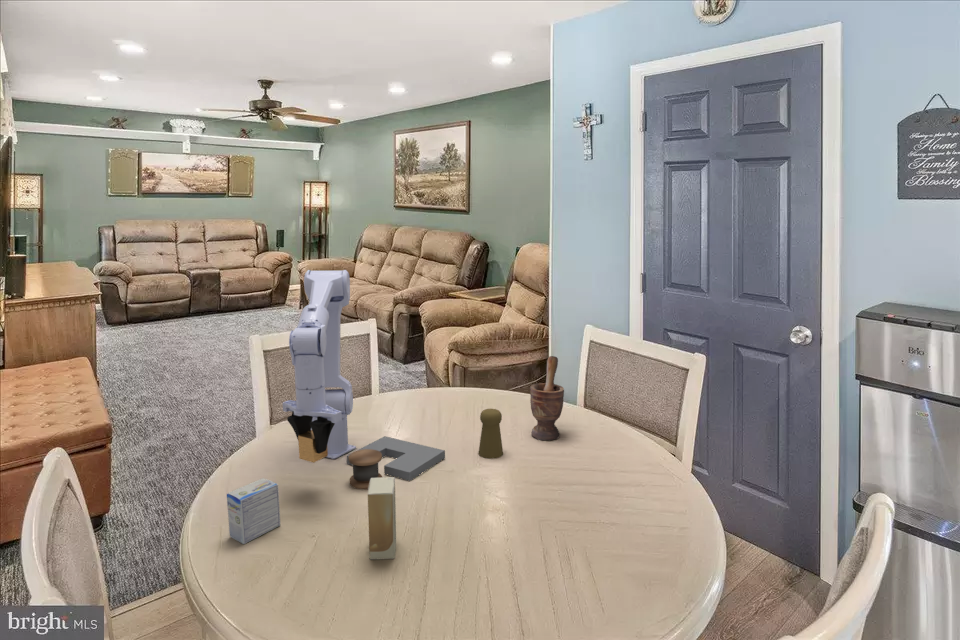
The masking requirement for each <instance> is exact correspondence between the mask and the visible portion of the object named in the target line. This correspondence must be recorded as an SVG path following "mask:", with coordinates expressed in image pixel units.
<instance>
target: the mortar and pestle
mask: <svg viewBox="0 0 960 640" xmlns="http://www.w3.org/2000/svg"><path fill="white" fill-rule="evenodd" d="M558 365H559V358H558V357H557V356H554V355H550V356H548V358H547V361H546V379H545V382H544V383H543V382H540V383H534V384H532V385H530V387H529V389H530V391H529V394H530V398H529V399H530V400H529V401H530V409H531V414H532V416H533V418H534V419H535V420H536V422H537V423H536V425H535V426H533V428H532V430H531V436H532V437H533V438H535V439H537V440H538V441H551V440H557V439H559V438H560V435H561V433H560V432H559V428H558V427H557V426H556V424H555V423H556V422H557V421H558V419H559V418H560V417H561V414H562V411H563V407H564V396H565V389H564V387H563V386H561V385H560V384H555V378H556V377H555V376H556V373H557V369H558Z"/></svg>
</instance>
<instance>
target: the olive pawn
mask: <svg viewBox="0 0 960 640" xmlns="http://www.w3.org/2000/svg"><path fill="white" fill-rule="evenodd" d="M502 415H503V414H502V412H501V411H500V410H498V409H496V408H486V409H484V410H482V411H481V412H480V415H479V417H480V418H479V419H480V422H481V423H482V426H481V432H480V439H479V448H478V453H477V454H478V456H479V457H481V458H484V459H491V460H492V459H499V458H501V457H503V455H504V449H503V441H502V440H503V439H502V433H501V427H500V426H501V425H500V424H501V422H502V420H503V419H502V418H503V417H502Z"/></svg>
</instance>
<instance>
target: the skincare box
mask: <svg viewBox="0 0 960 640" xmlns="http://www.w3.org/2000/svg"><path fill="white" fill-rule="evenodd" d="M396 509H397V508H396V477H393V476H388V477H387V476H386V477H384V476H382V477H381V478H371V479H370V483H369V488H368V489H367V513H368V516H367V517H368V537H369V538H368V544H369V545H368V548H369V550H368V551H369V552H368V553H369V560H392V559H395V558H396V551H397V550H396V549H397V519H396V518H397V515H396V514H397V512H396Z"/></svg>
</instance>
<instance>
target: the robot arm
mask: <svg viewBox="0 0 960 640" xmlns="http://www.w3.org/2000/svg"><path fill="white" fill-rule="evenodd" d="M303 278H304V279H303V286H304V287H303V288H304V293H305V295H306V296H307V299H308V301H309V302H308V304H307V305H305V306H304V307H303V309H302V310H301V314H300V317H299V320H298V323H297V327H295V328H294V329H293V330H290V332H289V338H288V347H289V353H290V358H291V365H292V366H294V383H295V400H293V399H289V400H286V401H283V402H282V411H283V412H286V413H287V412H291V413H292V414H291V415H290V416H287V418H286V419H287V420H286V421H287V422H288V423H289V424H290V426H291V427H292V430H293V431H294V434H295V436H296V439H297V441H298V435H301V434H303V433H305V432H308V431H310V430H312V431H313V434H314V438H315V447H316V451H317V453H319V454H320V453H322V452H324V451H326V449H328V456H326V457H325V458H328V459H332V460H336V459H337V458H340V457H342V456H343V455H345V454H347V453H349V452H351V451H353V450H355V449H357V446H356V445H353V444H350V443H349V436H348V434H349V430H348V416H349V415H351V413H352V412H353V408H354V394H353V385H352V383H351V382H350V381H349V380H348V379H347V378H345V377H344V376H343V375H341V315H342V310H343V308H345V307H347V306H349V305H350V300H351V279H350V273H349V271H348V270H347V269H343V270H311V269H307V271H305V273H304V276H303ZM326 388H329V389H326ZM330 388H334V389H330ZM337 388H338V389H337ZM339 388H340V389H339ZM298 443H299V441H298Z"/></svg>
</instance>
